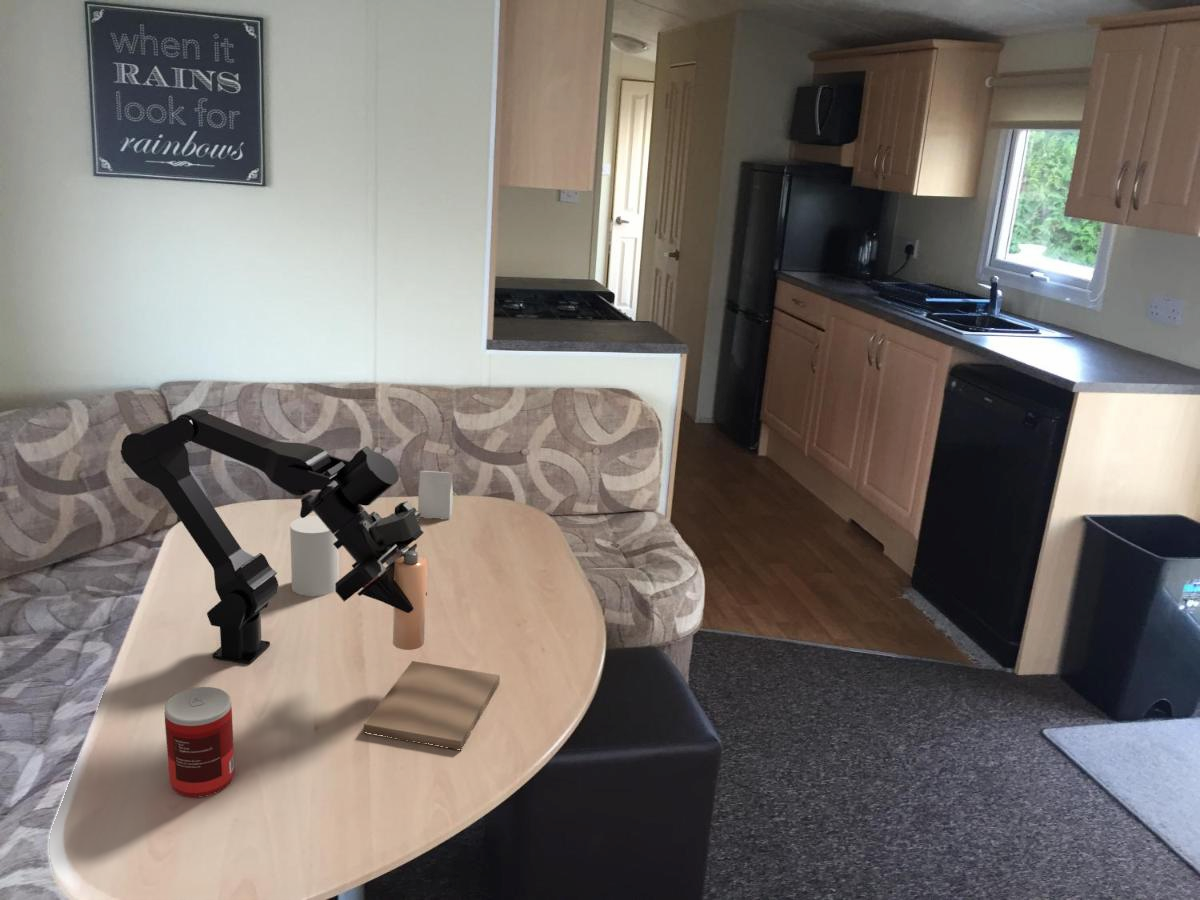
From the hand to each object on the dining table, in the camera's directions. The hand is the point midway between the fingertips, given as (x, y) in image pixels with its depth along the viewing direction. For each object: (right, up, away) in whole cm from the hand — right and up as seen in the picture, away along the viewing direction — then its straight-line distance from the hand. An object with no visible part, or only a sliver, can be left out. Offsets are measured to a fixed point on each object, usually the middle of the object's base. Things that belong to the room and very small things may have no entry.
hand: (418, 603), depth 146 cm
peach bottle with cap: (-2, -6, +2) cm, 7 cm away
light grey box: (-9, +8, +70) cm, 71 cm away
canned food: (-23, -19, -20) cm, 37 cm away
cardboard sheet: (+3, -15, -1) cm, 15 cm away
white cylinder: (-25, -2, +33) cm, 41 cm away
